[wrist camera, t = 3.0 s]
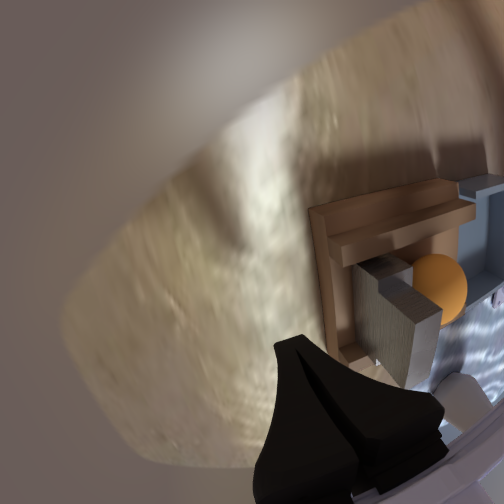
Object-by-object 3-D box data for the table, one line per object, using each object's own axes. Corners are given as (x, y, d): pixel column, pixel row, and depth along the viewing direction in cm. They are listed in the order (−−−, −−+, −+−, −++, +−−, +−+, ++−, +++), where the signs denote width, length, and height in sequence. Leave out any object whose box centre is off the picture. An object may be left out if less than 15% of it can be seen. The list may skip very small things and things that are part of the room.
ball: (436, 236, 15) (484, 259, 11) (433, 293, 16) (473, 321, 12) (387, 254, 14) (436, 285, 10) (387, 314, 16) (426, 351, 12)
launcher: (437, 178, 16) (475, 186, 12) (434, 304, 19) (462, 325, 16) (307, 208, 15) (338, 224, 11) (327, 352, 18) (348, 385, 15)
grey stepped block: (383, 249, 14) (453, 291, 9) (383, 328, 16) (434, 380, 11) (350, 259, 13) (417, 311, 9) (354, 340, 15) (402, 399, 10)
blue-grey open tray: (488, 173, 16) (515, 179, 14) (483, 271, 20) (506, 283, 17) (439, 184, 16) (471, 192, 13) (436, 298, 19) (460, 315, 16)
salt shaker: (427, 388, 24) (493, 466, 12) (464, 356, 24) (533, 423, 11) (427, 409, 26) (482, 478, 14) (461, 381, 26) (518, 442, 14)
